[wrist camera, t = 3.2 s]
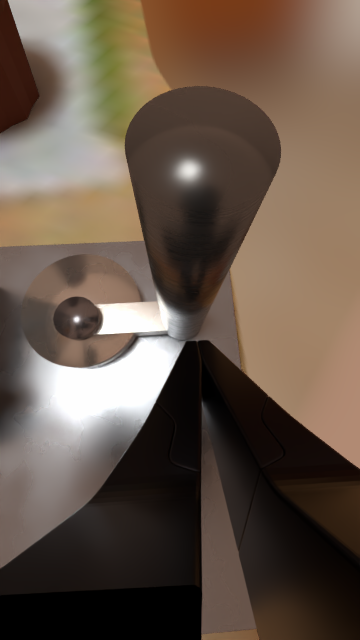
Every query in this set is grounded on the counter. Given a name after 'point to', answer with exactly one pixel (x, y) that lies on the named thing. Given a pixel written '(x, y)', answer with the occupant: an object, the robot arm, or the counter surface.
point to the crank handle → (163, 229)
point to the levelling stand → (101, 423)
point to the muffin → (13, 73)
